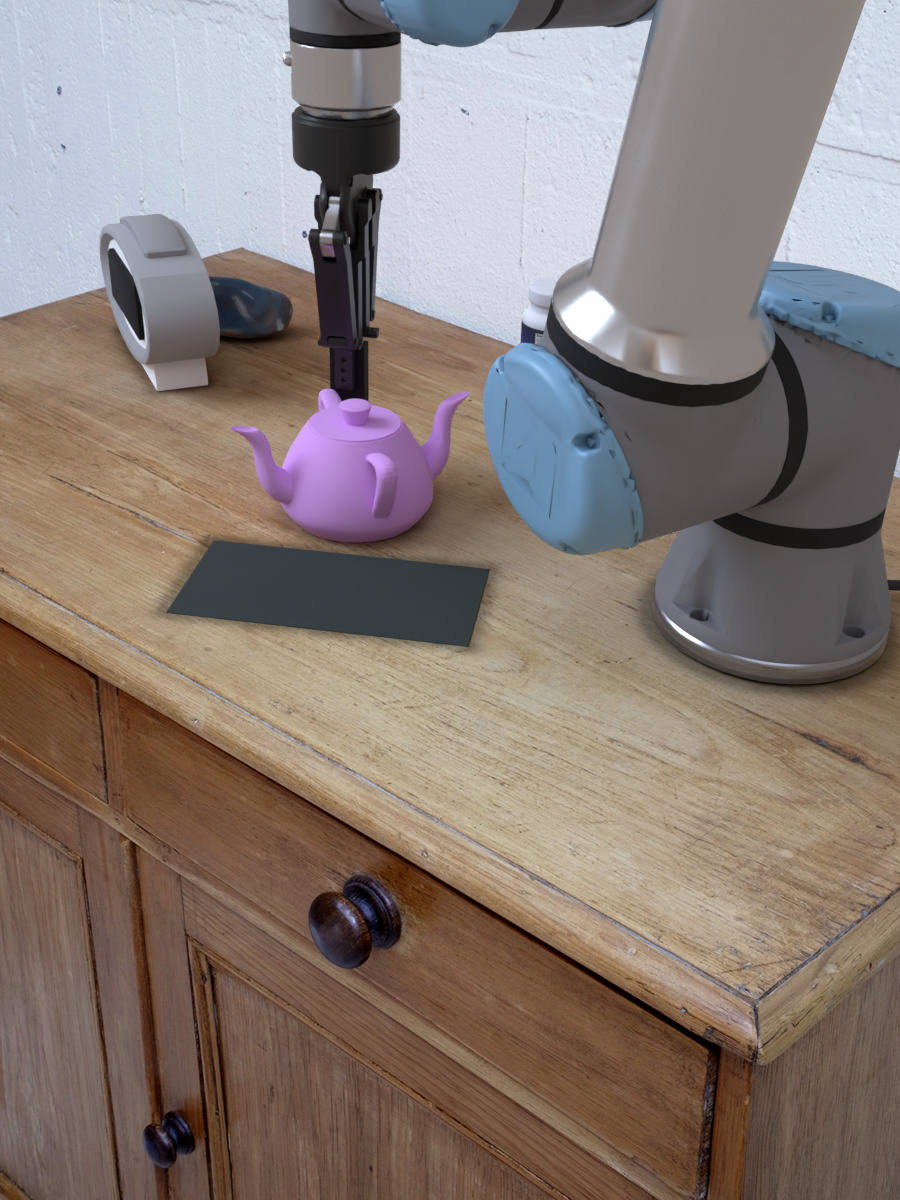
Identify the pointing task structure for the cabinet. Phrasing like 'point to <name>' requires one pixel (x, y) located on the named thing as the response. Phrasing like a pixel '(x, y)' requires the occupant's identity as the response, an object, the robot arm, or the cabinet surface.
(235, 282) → the seashell
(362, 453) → the teapot
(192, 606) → the mat
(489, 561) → the cabinet surface
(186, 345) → the alarm clock
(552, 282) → the pill bottle
